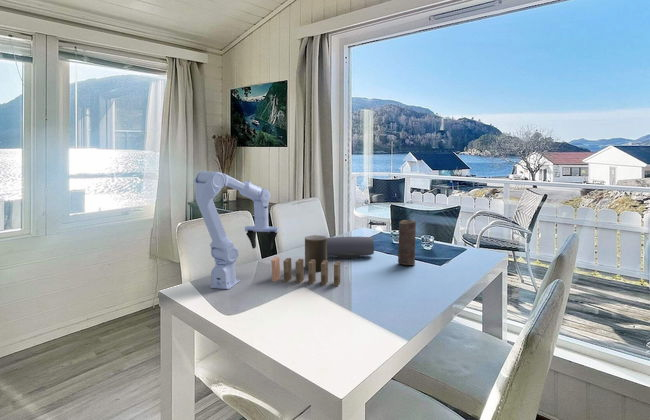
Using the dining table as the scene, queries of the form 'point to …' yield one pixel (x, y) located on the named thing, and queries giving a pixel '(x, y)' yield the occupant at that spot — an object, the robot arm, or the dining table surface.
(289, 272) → the domino
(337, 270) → the domino
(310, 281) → the domino
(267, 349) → the dining table surface
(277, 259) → the domino
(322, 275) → the domino
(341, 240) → the bluetooth speaker
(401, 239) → the brown wooden cylinder
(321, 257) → the pillar candle
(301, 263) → the domino
